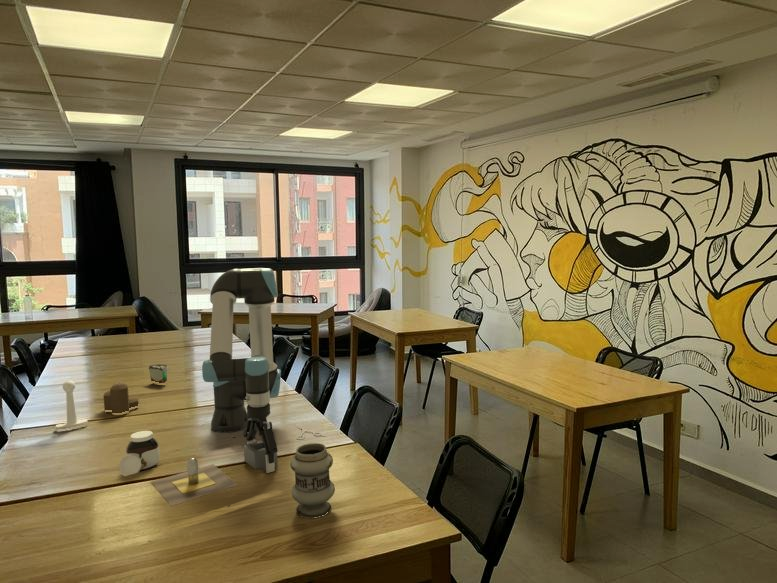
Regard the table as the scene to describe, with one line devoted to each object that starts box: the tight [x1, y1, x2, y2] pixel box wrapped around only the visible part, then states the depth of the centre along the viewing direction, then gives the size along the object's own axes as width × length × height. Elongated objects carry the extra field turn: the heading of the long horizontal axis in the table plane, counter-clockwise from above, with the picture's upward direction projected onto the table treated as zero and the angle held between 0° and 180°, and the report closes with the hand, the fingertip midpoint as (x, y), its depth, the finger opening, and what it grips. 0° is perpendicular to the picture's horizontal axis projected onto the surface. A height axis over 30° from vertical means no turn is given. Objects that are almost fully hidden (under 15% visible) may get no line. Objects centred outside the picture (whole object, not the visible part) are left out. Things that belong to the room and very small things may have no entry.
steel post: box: [186, 457, 199, 485], centre depth 167 cm, size 3×3×8 cm
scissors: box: [296, 428, 326, 441], centre depth 215 cm, size 11×1×20 cm
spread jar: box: [118, 430, 160, 477], centre depth 181 cm, size 12×11×12 cm
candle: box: [103, 380, 140, 414], centre depth 243 cm, size 14×14×15 cm
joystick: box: [55, 380, 89, 431], centre depth 223 cm, size 11×8×20 cm
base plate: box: [150, 463, 239, 507], centre depth 168 cm, size 20×20×2 cm
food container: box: [148, 363, 169, 383], centre depth 288 cm, size 12×6×10 cm, turn 58°
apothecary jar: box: [289, 442, 336, 519], centre depth 152 cm, size 12×12×18 cm
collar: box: [243, 440, 278, 472], centre depth 182 cm, size 8×8×7 cm
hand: (261, 465), depth 183 cm, fingers open, 13 cm apart
